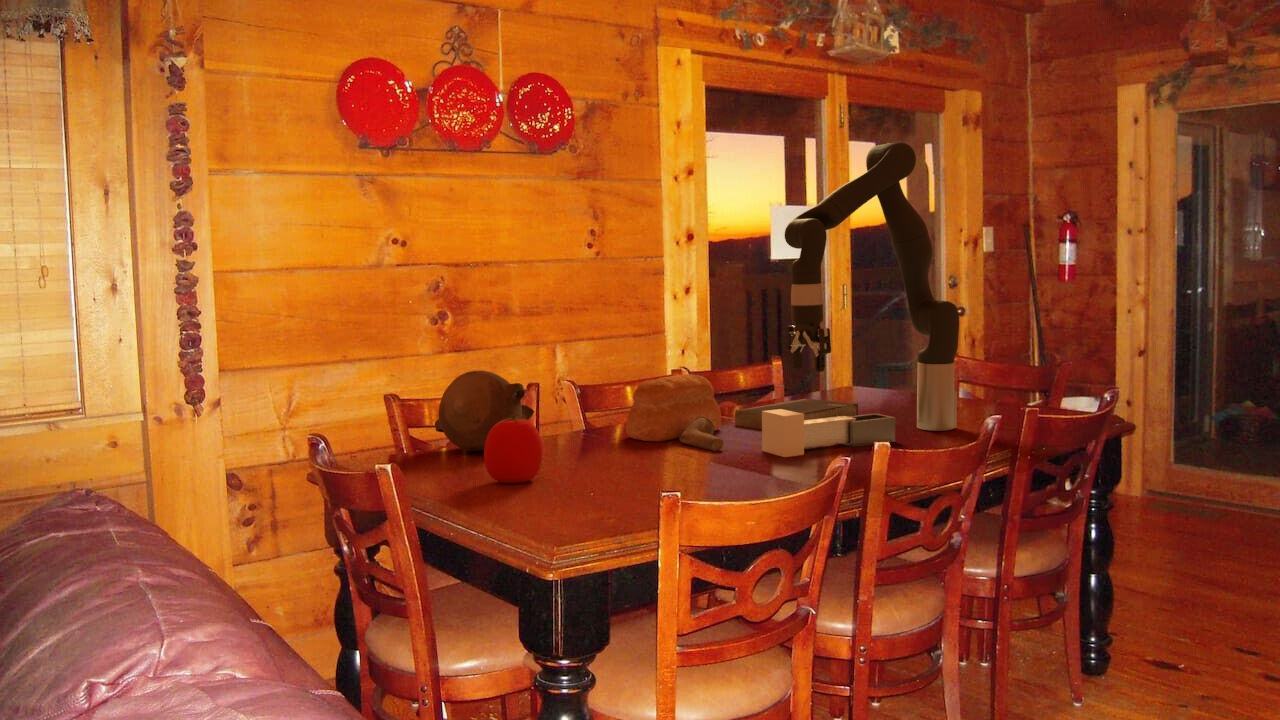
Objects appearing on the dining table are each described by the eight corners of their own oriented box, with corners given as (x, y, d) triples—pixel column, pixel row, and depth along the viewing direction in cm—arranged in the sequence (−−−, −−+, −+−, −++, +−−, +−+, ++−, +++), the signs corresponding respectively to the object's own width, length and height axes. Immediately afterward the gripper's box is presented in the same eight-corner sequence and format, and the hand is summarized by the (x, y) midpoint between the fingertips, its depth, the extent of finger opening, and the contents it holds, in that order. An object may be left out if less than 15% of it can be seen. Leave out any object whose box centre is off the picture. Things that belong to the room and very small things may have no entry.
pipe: (710, 433, 251) (742, 422, 256) (667, 424, 264) (699, 413, 269) (713, 459, 252) (745, 447, 257) (671, 448, 265) (702, 437, 271)
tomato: (493, 490, 216) (490, 421, 215) (478, 479, 227) (476, 413, 225) (552, 483, 221) (550, 416, 220) (535, 473, 232) (533, 408, 230)
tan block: (781, 448, 255) (781, 409, 254) (804, 454, 247) (803, 413, 246) (762, 450, 252) (761, 411, 251) (784, 457, 244) (784, 416, 243)
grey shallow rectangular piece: (805, 414, 307) (805, 397, 307) (857, 421, 293) (857, 403, 293) (734, 426, 289) (734, 408, 288) (787, 435, 274) (787, 416, 274)
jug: (480, 462, 245) (547, 460, 272) (500, 379, 244) (565, 385, 271) (411, 438, 254) (483, 439, 281) (430, 358, 253) (500, 366, 280)
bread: (620, 438, 273) (618, 379, 271) (690, 425, 291) (689, 369, 289) (657, 444, 263) (656, 383, 261) (727, 430, 281) (727, 373, 280)
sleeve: (875, 437, 267) (875, 413, 266) (895, 441, 260) (895, 417, 260) (833, 442, 261) (834, 418, 260) (852, 447, 254) (853, 422, 254)
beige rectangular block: (843, 438, 260) (843, 414, 260) (856, 441, 256) (856, 417, 256) (776, 447, 251) (775, 422, 251) (788, 450, 247) (787, 425, 246)
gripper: (838, 302, 251) (840, 371, 253) (801, 300, 264) (802, 365, 266) (813, 305, 248) (814, 374, 250) (776, 302, 260) (778, 368, 262)
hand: (808, 369), depth 258 cm, fingers open, 8 cm apart
